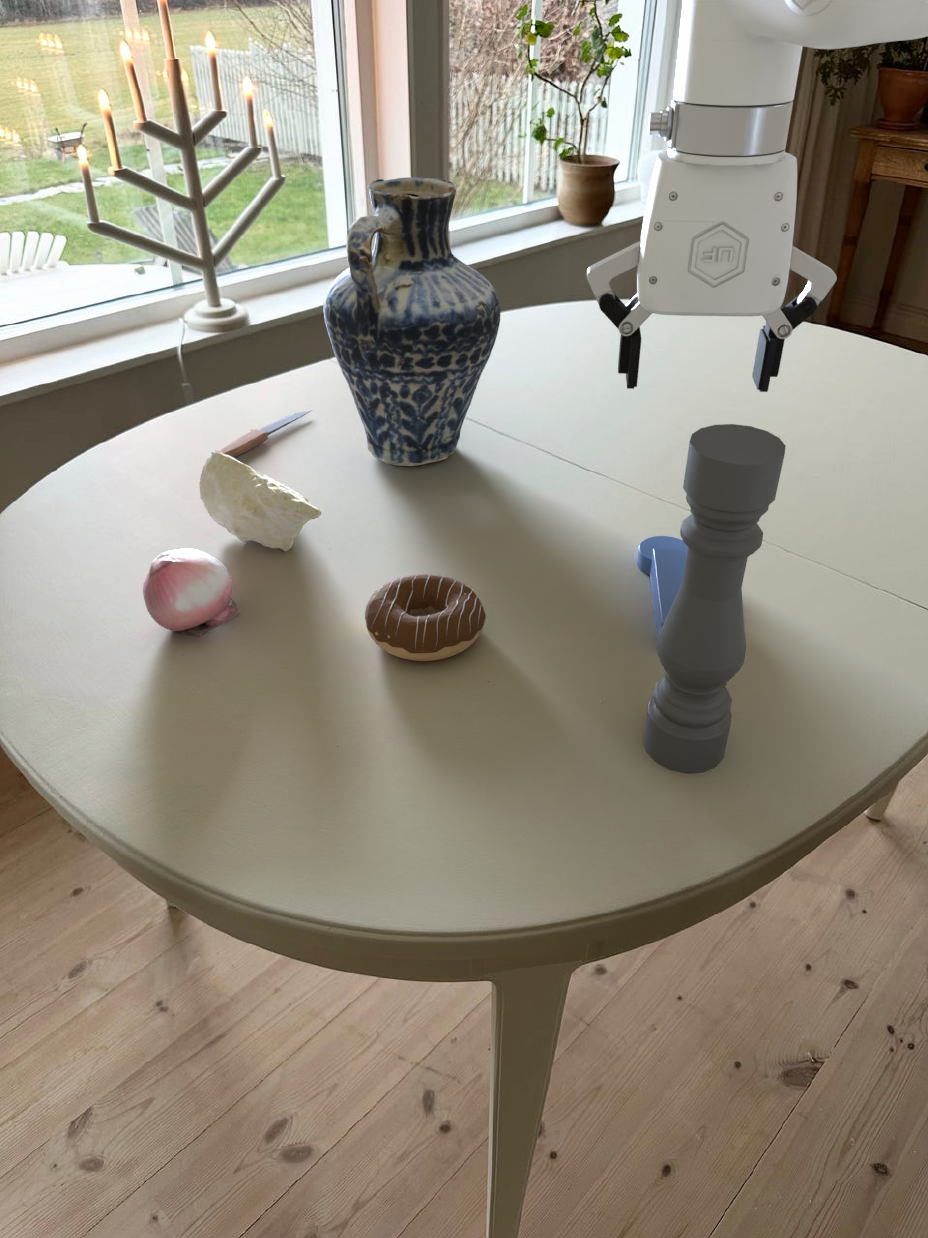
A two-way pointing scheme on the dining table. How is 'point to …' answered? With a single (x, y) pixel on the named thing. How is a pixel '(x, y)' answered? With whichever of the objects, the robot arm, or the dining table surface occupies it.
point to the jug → (410, 323)
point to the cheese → (252, 503)
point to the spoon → (663, 572)
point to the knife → (257, 436)
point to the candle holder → (711, 594)
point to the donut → (424, 617)
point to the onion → (188, 592)
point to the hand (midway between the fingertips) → (694, 383)
